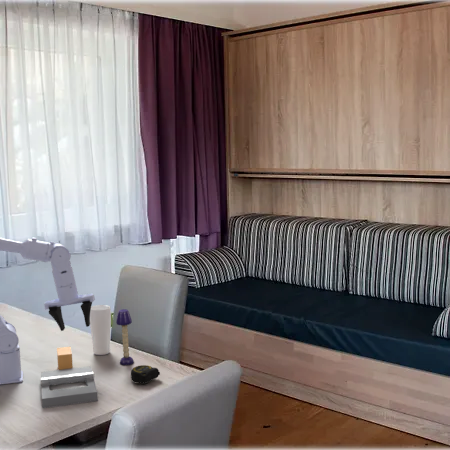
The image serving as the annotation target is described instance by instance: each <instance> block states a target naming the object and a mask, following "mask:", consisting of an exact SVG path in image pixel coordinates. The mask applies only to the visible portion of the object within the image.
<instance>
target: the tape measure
mask: <svg viewBox="0 0 450 450" xmlns="http://www.w3.org/2000/svg"><path fill="white" fill-rule="evenodd" d="M159 376H161V371H160V370H159V369H158V368H157V367H152V366H151V365H144V364H143V365H137V366H135V367H133V368H132V369H131V371H130V378H131V381H132V382H133V383H134V384H135V383H136V384H147V383H149V382H152V381H153V380H155V379H157V378H158V377H159Z"/></svg>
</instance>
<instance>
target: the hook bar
mask: <svg viewBox="0 0 450 450" xmlns="http://www.w3.org/2000/svg"><path fill="white" fill-rule="evenodd" d="M93 379H94V380H95V373H94V371H92V372H87V373H78V374H70V375H62V376H53V377H45V378H41V377H40V382H41V383H40V385H41V386H43V385H52V384H60V383H68V382H76V381H84V380H93ZM84 382H85V381H84ZM76 383H77V382H76ZM68 384H69V383H68ZM60 385H61V384H60ZM52 386H53V385H52Z"/></svg>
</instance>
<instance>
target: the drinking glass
mask: <svg viewBox="0 0 450 450" xmlns="http://www.w3.org/2000/svg"><path fill="white" fill-rule="evenodd" d="M89 327H90V333H91V334H90V335H91V343H92V352H93V354H94V355H97V356H104V355H108V354H109V353H111V328H112V311H111V306H110V305H107V304H96V305H91V310H90V325H89Z"/></svg>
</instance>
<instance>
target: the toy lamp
mask: <svg viewBox="0 0 450 450" xmlns="http://www.w3.org/2000/svg"><path fill="white" fill-rule="evenodd" d="M131 324H132V317H131V315H130V312H129V310H128V309H124V308H123V309H119V310H118V312H117V316H116V325H118V326H121V333H122V334H121V336H122V347H123V348H122V352H123V353H122V355H123V357H122V358H120V360H119V364H120V365H121V366H131V365H133V364H134V363H135V361H134V360H135V359H133V357H132V356H130V353H129V352H130V348H129V332H128V326H129V325H131Z"/></svg>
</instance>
